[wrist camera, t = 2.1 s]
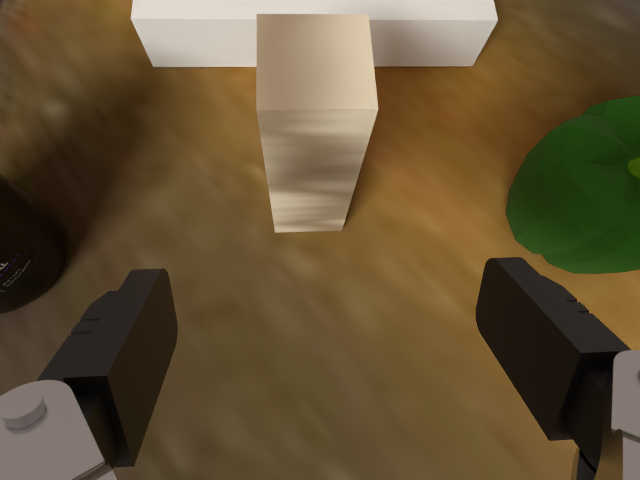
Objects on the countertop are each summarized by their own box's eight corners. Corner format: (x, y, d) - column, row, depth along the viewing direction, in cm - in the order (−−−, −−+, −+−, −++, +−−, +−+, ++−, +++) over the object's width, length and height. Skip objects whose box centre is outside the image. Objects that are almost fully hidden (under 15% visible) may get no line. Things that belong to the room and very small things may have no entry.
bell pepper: (481, 159, 27) (578, 42, 18) (605, 170, 28) (765, 60, 18) (489, 286, 25) (608, 227, 15) (626, 296, 25) (828, 246, 15)
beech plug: (338, 170, 27) (368, 14, 15) (341, 230, 25) (378, 108, 14) (274, 171, 26) (256, 13, 15) (275, 232, 25) (256, 109, 14)
